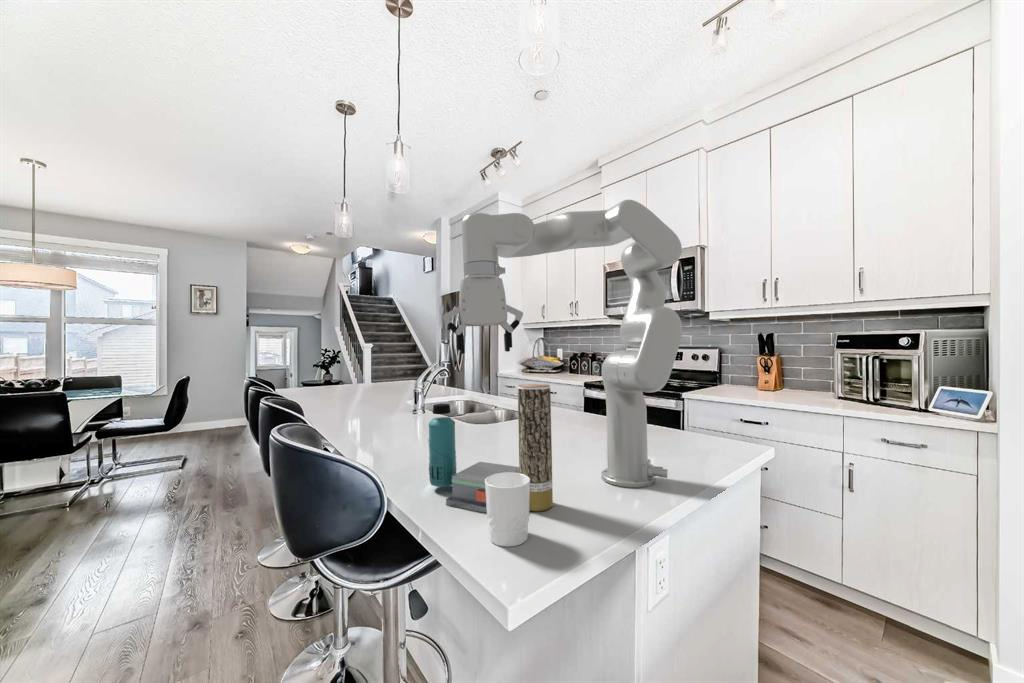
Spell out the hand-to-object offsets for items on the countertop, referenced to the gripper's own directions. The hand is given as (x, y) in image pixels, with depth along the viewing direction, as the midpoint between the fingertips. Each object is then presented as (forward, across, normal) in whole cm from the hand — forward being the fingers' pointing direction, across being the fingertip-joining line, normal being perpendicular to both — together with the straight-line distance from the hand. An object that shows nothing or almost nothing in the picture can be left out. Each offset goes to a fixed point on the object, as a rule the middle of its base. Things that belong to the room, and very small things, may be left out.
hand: (485, 352), depth 83 cm
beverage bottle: (+32, +11, -10) cm, 35 cm away
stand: (+32, +1, -1) cm, 32 cm away
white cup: (+32, -1, +16) cm, 36 cm away
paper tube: (+32, -9, +4) cm, 34 cm away
